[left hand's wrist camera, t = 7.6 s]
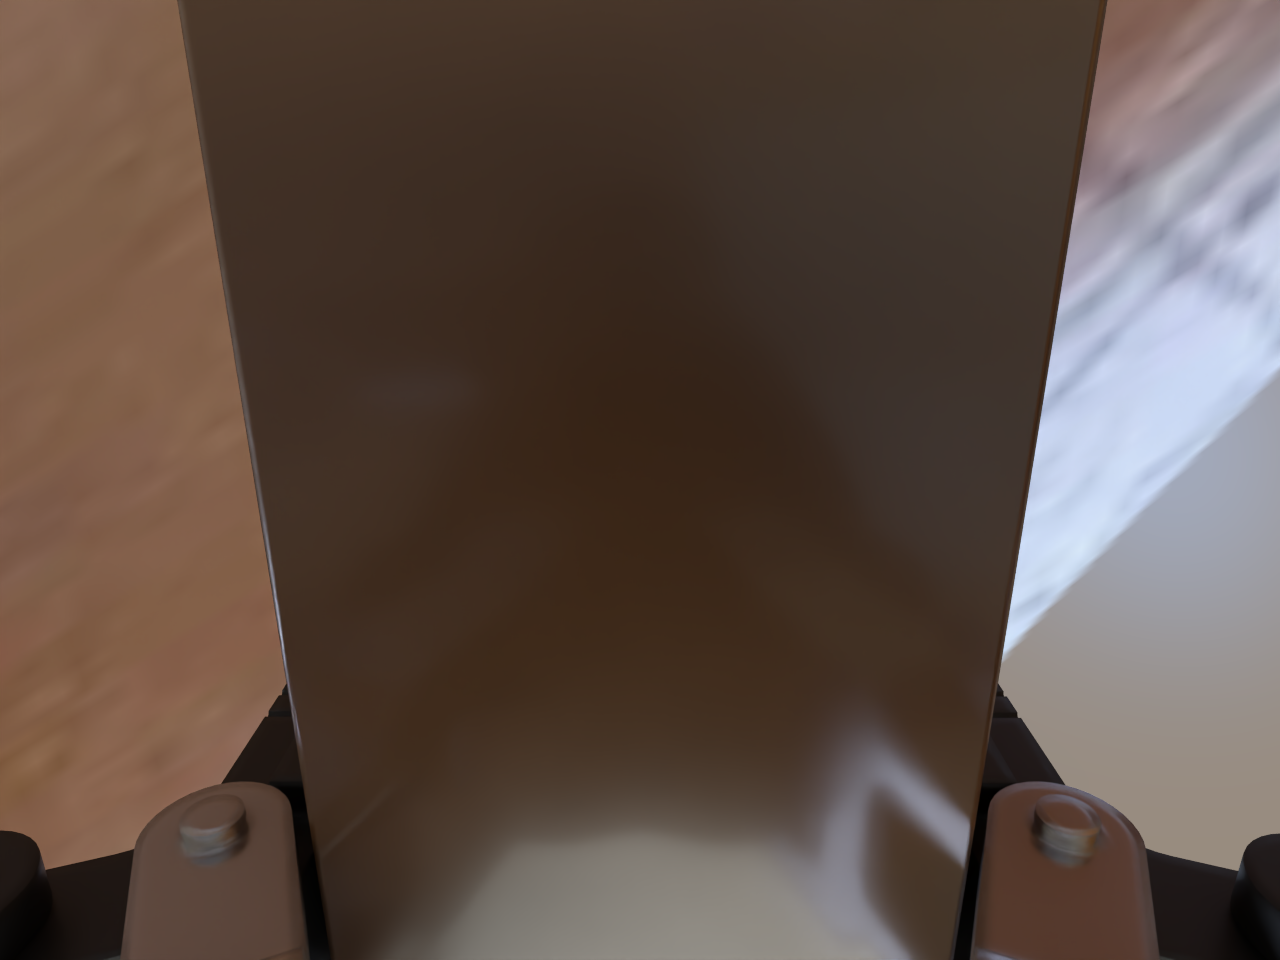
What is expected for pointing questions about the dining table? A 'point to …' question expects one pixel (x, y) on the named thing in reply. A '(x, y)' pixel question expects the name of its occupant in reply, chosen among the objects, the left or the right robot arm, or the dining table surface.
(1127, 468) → the dining table surface
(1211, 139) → the dining table surface
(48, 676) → the dining table surface
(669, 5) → the bar
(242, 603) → the dining table surface
